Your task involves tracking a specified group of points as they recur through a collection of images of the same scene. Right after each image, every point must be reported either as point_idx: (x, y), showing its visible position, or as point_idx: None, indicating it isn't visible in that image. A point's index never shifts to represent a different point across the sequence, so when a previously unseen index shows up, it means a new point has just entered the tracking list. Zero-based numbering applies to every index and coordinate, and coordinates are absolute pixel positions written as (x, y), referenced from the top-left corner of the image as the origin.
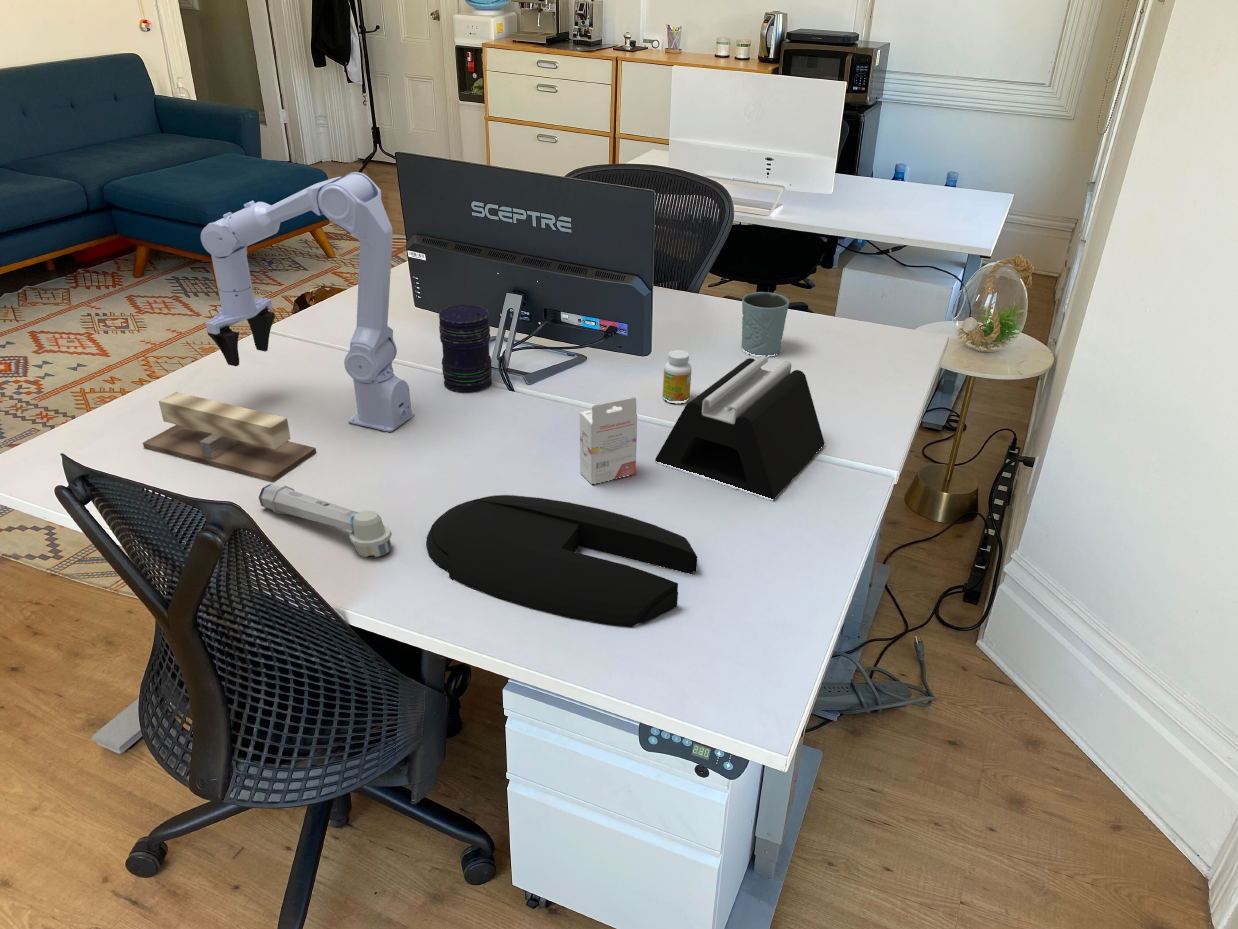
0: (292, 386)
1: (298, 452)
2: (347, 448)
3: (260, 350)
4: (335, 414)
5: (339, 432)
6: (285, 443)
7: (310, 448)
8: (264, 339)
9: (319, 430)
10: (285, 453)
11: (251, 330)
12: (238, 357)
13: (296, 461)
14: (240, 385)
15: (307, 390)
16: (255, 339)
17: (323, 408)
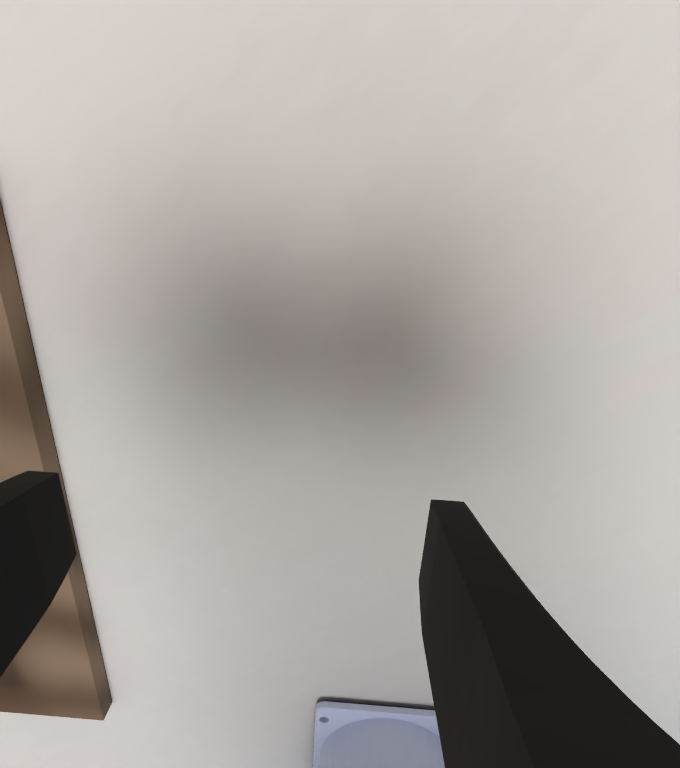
0: (564, 373)
1: (51, 697)
2: (181, 747)
3: (426, 534)
4: (361, 643)
5: (252, 699)
6: (68, 646)
7: (90, 712)
8: (440, 705)
9: (233, 652)
10: (22, 673)
11: (493, 659)
12: (23, 635)
13: (13, 710)
14: (503, 69)
15: (536, 460)
16: (452, 588)
17: (389, 592)
